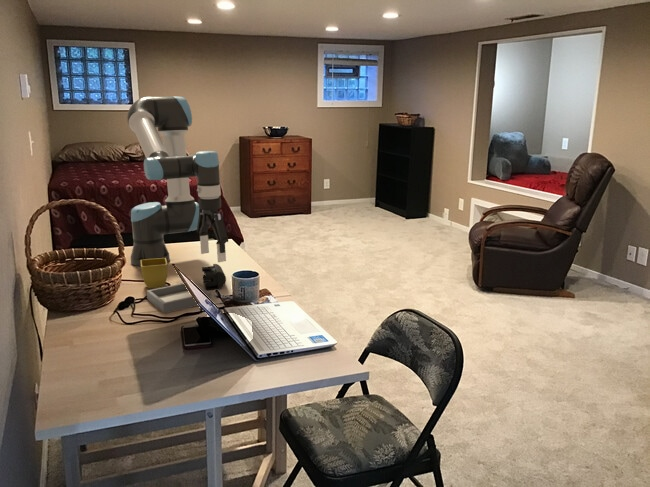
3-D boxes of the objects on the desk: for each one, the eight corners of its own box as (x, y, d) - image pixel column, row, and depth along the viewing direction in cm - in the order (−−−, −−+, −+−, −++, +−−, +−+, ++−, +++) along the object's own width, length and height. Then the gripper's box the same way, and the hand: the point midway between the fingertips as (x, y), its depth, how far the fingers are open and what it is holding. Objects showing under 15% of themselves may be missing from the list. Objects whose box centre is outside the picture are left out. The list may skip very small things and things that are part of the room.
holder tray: (147, 299, 188) (146, 290, 188) (192, 289, 197) (192, 281, 197) (163, 313, 177) (163, 303, 176) (211, 302, 186) (210, 293, 185)
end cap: (226, 289, 198) (225, 270, 196) (206, 291, 196) (205, 272, 194) (222, 280, 207) (221, 262, 206) (202, 282, 205) (201, 264, 203)
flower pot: (167, 281, 207) (165, 257, 204) (169, 288, 199) (167, 264, 196) (142, 283, 204) (140, 259, 202) (143, 291, 196) (140, 266, 194)
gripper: (184, 193, 201) (188, 251, 206) (215, 203, 181) (219, 267, 187) (204, 191, 205) (208, 248, 210) (236, 200, 186) (239, 263, 191)
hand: (213, 257), depth 199 cm, fingers open, 13 cm apart
